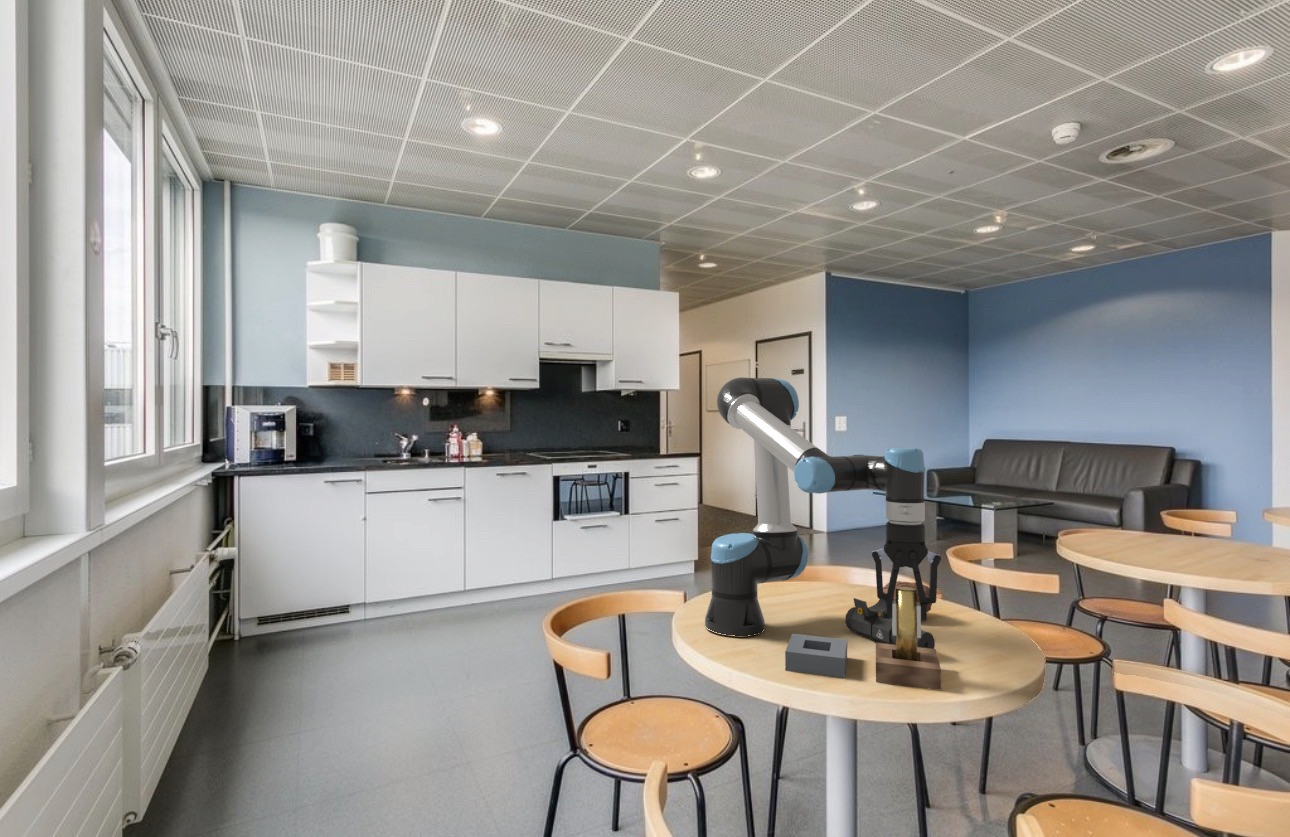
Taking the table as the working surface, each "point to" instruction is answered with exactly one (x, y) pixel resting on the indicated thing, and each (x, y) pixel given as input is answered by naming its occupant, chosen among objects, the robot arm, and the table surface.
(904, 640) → the brass pin
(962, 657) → the table surface
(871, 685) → the table surface
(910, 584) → the brown lumpy rounded lump
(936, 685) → the dock block
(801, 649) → the mount block
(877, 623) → the laser sight
